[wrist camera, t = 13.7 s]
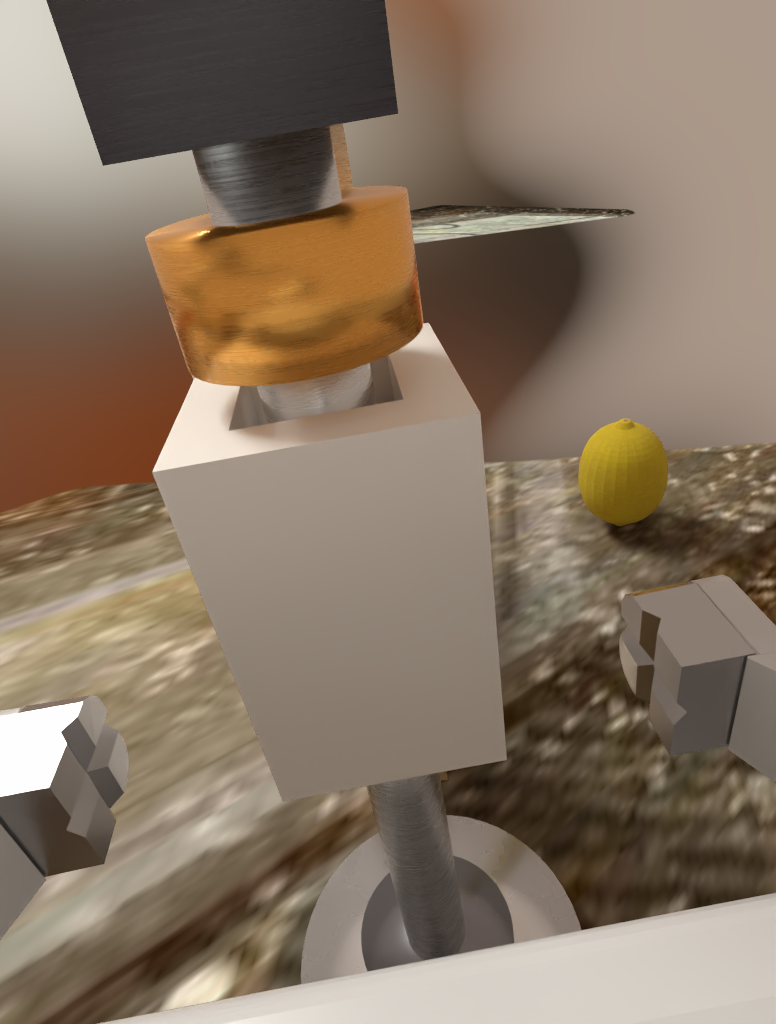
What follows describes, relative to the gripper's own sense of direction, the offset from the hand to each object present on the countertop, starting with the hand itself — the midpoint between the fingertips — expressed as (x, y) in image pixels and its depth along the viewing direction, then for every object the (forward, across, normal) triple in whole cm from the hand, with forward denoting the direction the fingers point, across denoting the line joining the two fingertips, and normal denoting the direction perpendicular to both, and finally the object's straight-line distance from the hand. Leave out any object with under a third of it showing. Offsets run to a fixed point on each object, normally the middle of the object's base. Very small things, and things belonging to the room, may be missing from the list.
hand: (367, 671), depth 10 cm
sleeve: (+4, 0, +5) cm, 6 cm away
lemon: (+28, -17, +20) cm, 38 cm away
